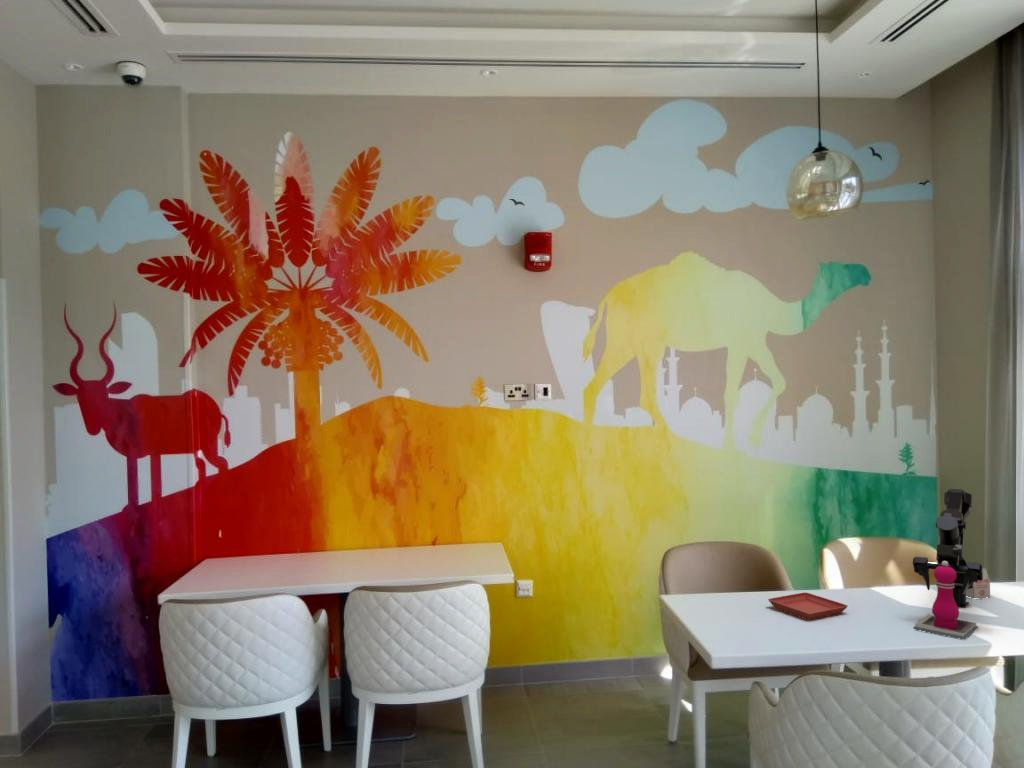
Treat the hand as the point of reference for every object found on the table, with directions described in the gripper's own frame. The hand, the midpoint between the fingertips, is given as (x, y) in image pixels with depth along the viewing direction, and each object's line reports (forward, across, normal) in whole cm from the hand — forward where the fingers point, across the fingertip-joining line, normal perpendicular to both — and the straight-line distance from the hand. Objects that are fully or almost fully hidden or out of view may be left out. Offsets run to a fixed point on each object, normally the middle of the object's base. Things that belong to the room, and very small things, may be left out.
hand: (945, 591), depth 236 cm
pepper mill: (+8, 0, +8) cm, 11 cm away
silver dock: (+8, 0, +8) cm, 11 cm away
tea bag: (-23, +5, +40) cm, 46 cm away
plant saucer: (+11, -40, +6) cm, 42 cm away
